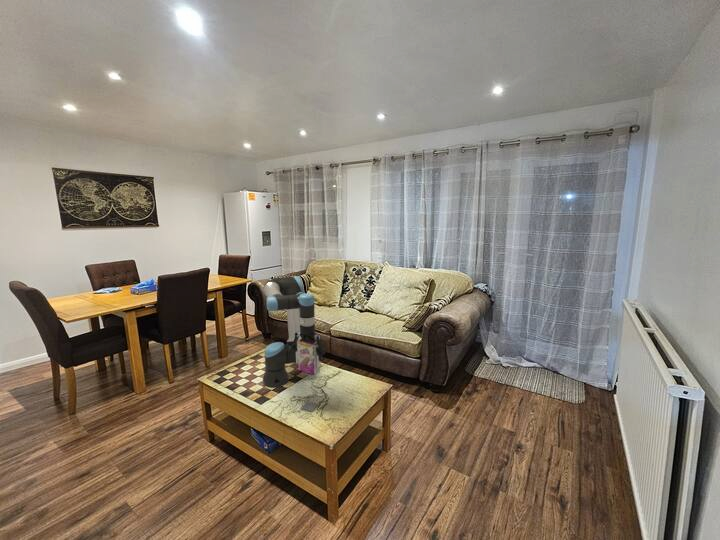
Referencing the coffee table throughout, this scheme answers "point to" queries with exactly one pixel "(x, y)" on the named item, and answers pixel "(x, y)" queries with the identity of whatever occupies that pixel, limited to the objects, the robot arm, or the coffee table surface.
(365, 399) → the coffee table surface
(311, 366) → the candy bar box
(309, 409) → the slate coaster
